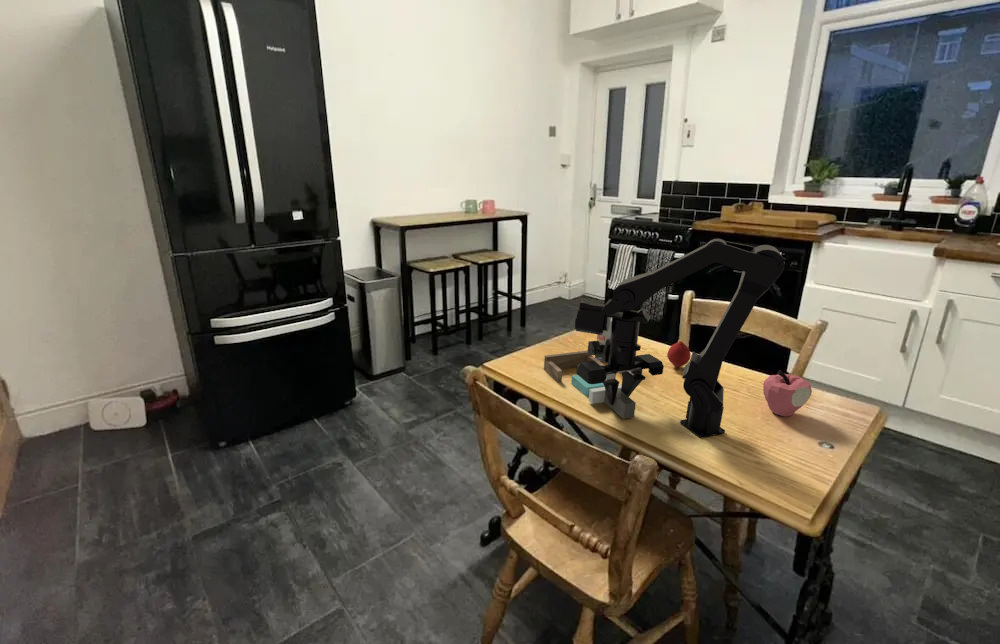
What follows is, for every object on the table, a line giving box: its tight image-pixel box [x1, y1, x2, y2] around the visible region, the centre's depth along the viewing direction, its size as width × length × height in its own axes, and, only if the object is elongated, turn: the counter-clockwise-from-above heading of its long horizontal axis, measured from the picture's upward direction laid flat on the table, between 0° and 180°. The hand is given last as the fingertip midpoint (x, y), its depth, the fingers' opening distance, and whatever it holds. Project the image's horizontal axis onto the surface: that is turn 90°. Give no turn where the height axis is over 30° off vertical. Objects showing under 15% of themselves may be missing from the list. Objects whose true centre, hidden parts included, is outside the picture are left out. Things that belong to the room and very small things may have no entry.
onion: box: [666, 339, 692, 369], centre depth 129 cm, size 6×6×8 cm
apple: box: [762, 370, 813, 417], centre depth 106 cm, size 10×9×10 cm
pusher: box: [588, 383, 636, 420], centre depth 107 cm, size 10×9×4 cm
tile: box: [570, 374, 604, 397], centre depth 118 cm, size 7×7×2 cm
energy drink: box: [596, 318, 612, 363], centre depth 133 cm, size 5×5×12 cm
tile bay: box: [543, 349, 606, 383], centre depth 125 cm, size 8×13×4 cm, turn 109°
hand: (616, 403), depth 107 cm, fingers closed on pusher, 3 cm apart
